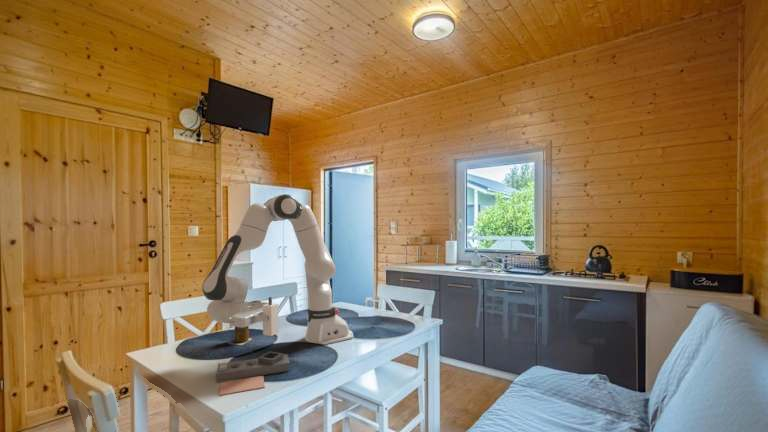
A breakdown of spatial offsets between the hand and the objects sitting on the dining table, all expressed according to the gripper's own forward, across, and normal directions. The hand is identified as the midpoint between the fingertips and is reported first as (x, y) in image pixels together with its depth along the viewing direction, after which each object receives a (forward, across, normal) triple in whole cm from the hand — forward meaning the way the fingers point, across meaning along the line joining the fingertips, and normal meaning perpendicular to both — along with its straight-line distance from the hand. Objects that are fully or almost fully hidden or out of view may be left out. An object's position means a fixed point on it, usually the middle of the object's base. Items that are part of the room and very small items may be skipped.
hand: (272, 316), depth 138 cm
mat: (-1, -15, +20) cm, 25 cm away
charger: (-1, 0, +6) cm, 7 cm away
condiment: (-34, +19, +20) cm, 43 cm away
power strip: (-6, -4, +20) cm, 21 cm away
